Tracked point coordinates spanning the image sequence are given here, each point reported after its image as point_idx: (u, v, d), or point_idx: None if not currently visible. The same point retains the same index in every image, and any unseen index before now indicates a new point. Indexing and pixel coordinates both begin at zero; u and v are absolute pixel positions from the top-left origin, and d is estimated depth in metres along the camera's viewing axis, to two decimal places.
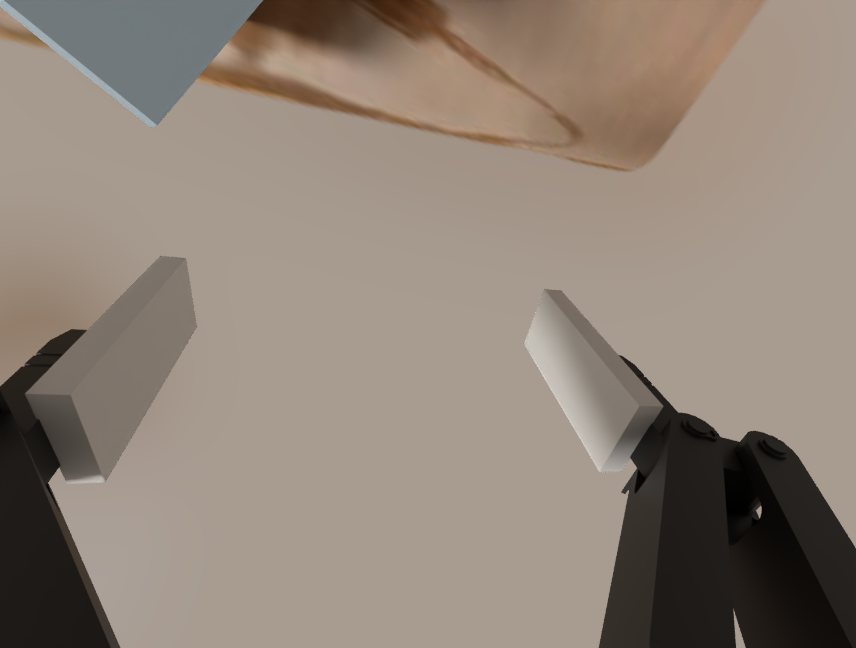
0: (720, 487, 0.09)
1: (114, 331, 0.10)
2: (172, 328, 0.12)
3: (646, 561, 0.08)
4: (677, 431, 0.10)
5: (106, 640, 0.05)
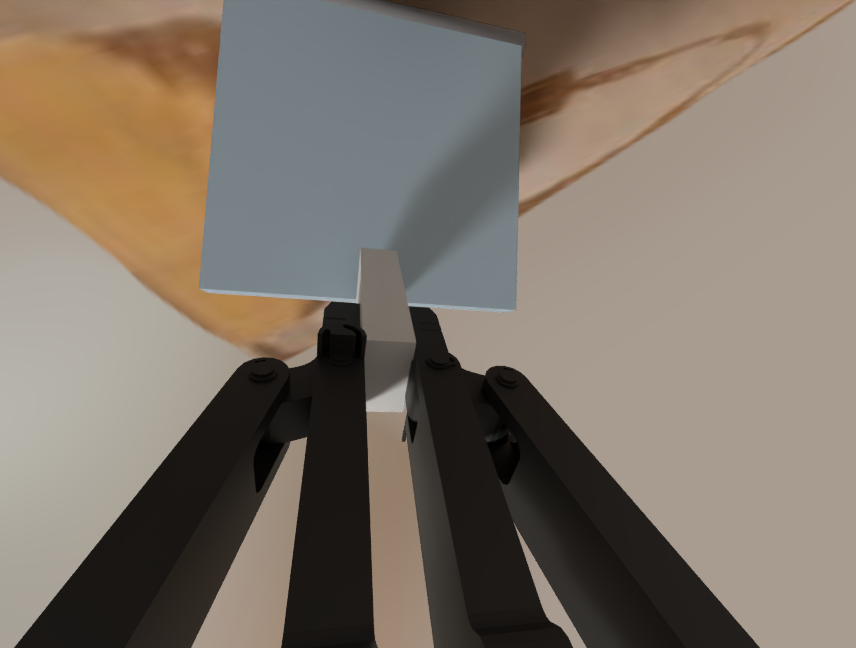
0: (472, 409, 0.10)
1: (379, 301, 0.13)
2: None
3: (440, 521, 0.08)
4: (425, 372, 0.11)
5: (370, 558, 0.06)
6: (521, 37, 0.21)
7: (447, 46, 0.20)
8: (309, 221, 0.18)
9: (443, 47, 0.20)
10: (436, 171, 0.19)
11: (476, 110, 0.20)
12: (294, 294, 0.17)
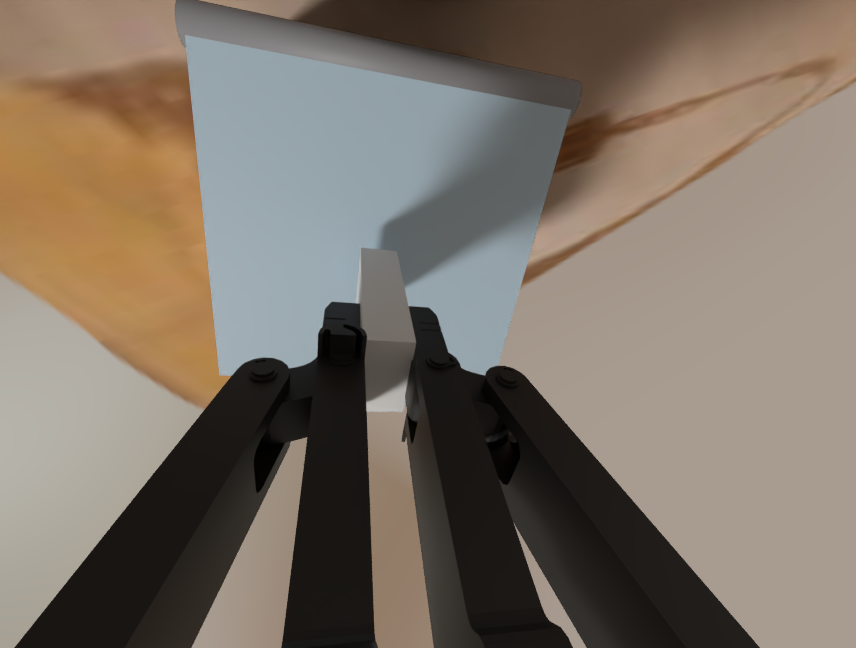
0: (471, 409, 0.10)
1: (379, 301, 0.13)
2: None
3: (440, 521, 0.08)
4: (425, 372, 0.11)
5: (371, 558, 0.06)
6: (574, 98, 0.16)
7: (473, 117, 0.16)
8: (310, 320, 0.19)
9: (468, 119, 0.16)
10: (437, 270, 0.19)
11: (493, 201, 0.17)
12: None
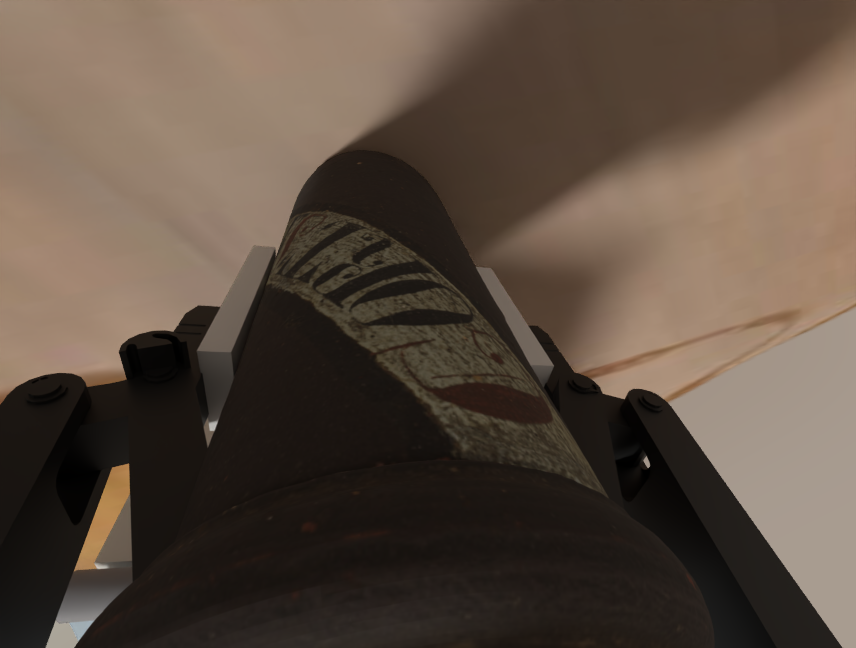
0: (607, 437, 0.10)
1: (243, 305, 0.11)
2: None
3: None
4: (565, 391, 0.11)
5: None
6: None
7: None
8: None
9: None
10: None
11: None
12: None
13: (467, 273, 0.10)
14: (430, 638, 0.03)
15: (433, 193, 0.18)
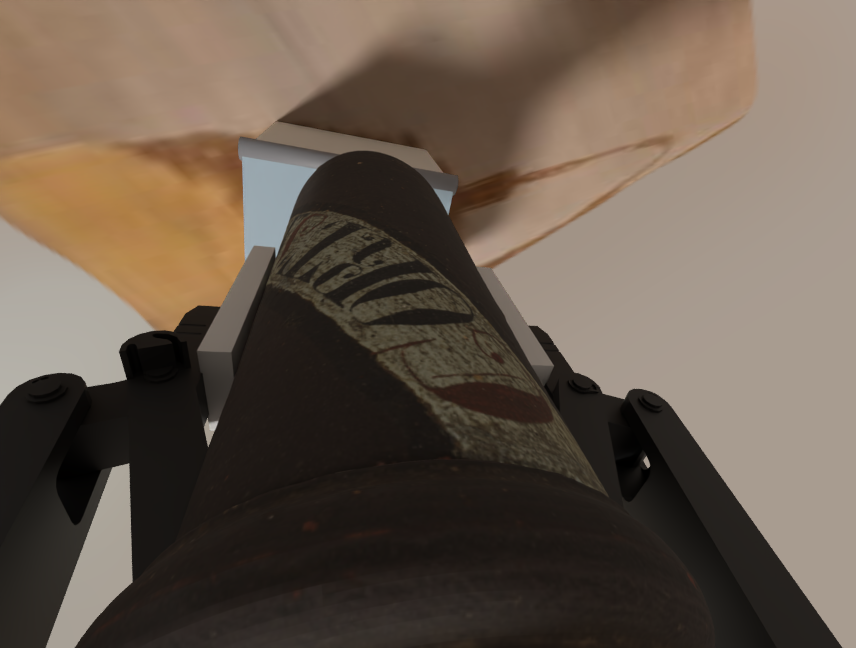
0: (607, 437, 0.10)
1: (243, 305, 0.11)
2: None
3: None
4: (565, 391, 0.11)
5: None
6: (454, 186, 0.29)
7: None
8: None
9: None
10: None
11: None
12: None
13: (467, 273, 0.10)
14: (431, 637, 0.03)
15: (433, 193, 0.18)
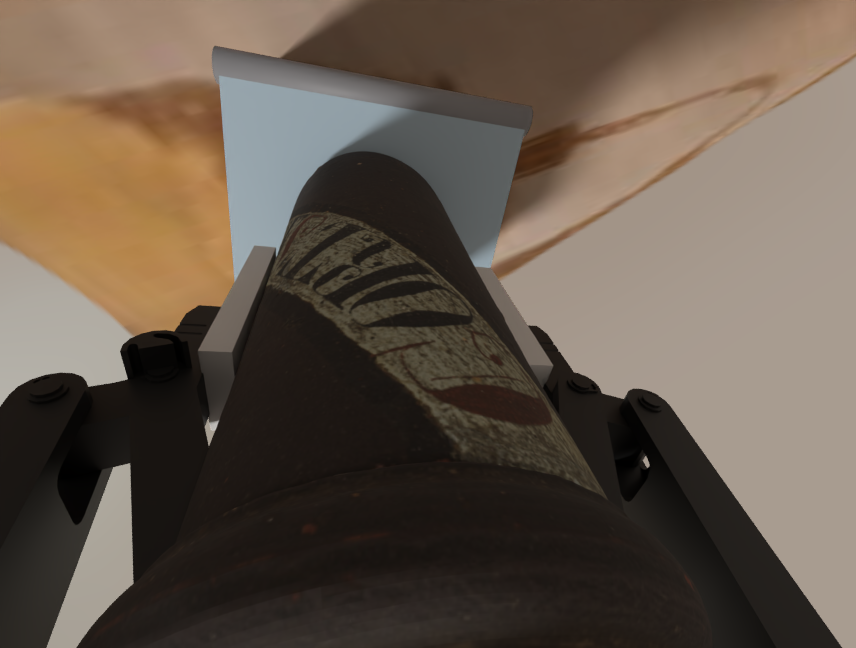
0: (606, 437, 0.10)
1: (243, 305, 0.11)
2: None
3: None
4: (564, 391, 0.11)
5: None
6: (526, 121, 0.20)
7: (445, 136, 0.20)
8: None
9: (441, 138, 0.20)
10: None
11: (464, 202, 0.21)
12: None
13: (467, 274, 0.11)
14: (429, 640, 0.03)
15: (433, 194, 0.18)
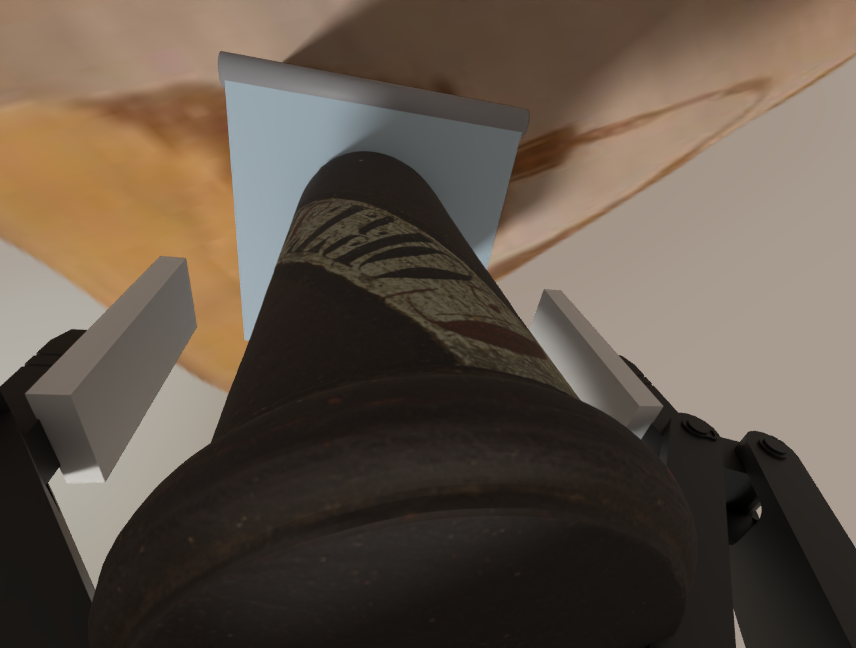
0: (720, 487, 0.09)
1: (114, 331, 0.10)
2: (172, 328, 0.12)
3: None
4: (677, 431, 0.10)
5: None
6: (523, 124, 0.20)
7: (444, 138, 0.20)
8: None
9: (440, 140, 0.20)
10: None
11: (462, 202, 0.22)
12: None
13: (465, 248, 0.11)
14: (441, 479, 0.04)
15: (431, 189, 0.19)
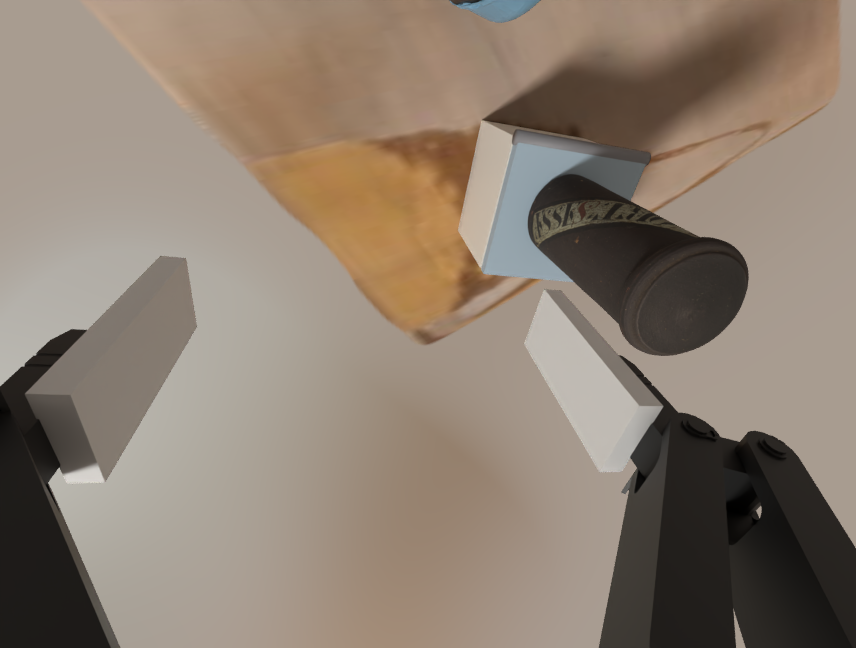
0: (720, 487, 0.09)
1: (114, 331, 0.10)
2: (172, 328, 0.12)
3: (646, 561, 0.08)
4: (677, 431, 0.10)
5: (106, 640, 0.05)
6: (647, 160, 0.41)
7: (608, 167, 0.41)
8: (526, 250, 0.44)
9: (606, 168, 0.41)
10: None
11: None
12: (514, 276, 0.46)
13: None
14: (713, 249, 0.25)
15: None
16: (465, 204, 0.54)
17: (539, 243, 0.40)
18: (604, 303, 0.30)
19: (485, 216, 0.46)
